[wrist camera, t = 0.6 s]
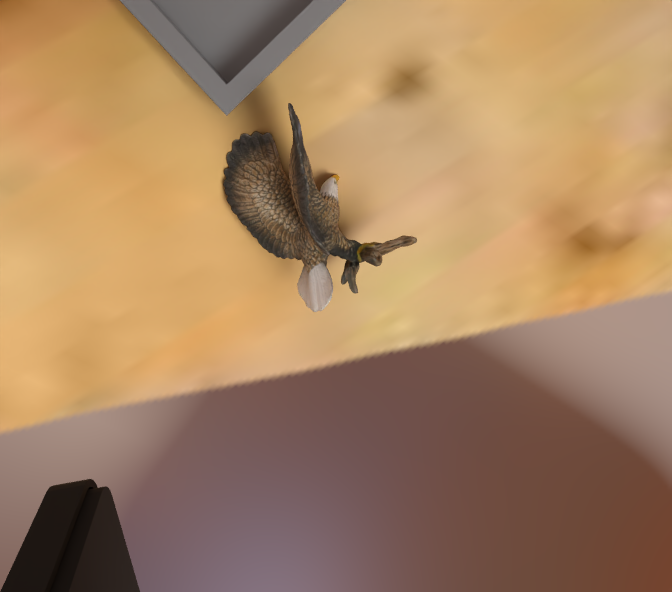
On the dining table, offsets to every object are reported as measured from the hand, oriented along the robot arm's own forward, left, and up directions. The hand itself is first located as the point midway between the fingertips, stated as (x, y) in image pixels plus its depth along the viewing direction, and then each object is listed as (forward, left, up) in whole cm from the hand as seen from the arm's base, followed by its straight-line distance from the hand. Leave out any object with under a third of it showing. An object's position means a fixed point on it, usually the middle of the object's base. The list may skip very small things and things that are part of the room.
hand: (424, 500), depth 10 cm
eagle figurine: (+1, 0, -27) cm, 27 cm away
